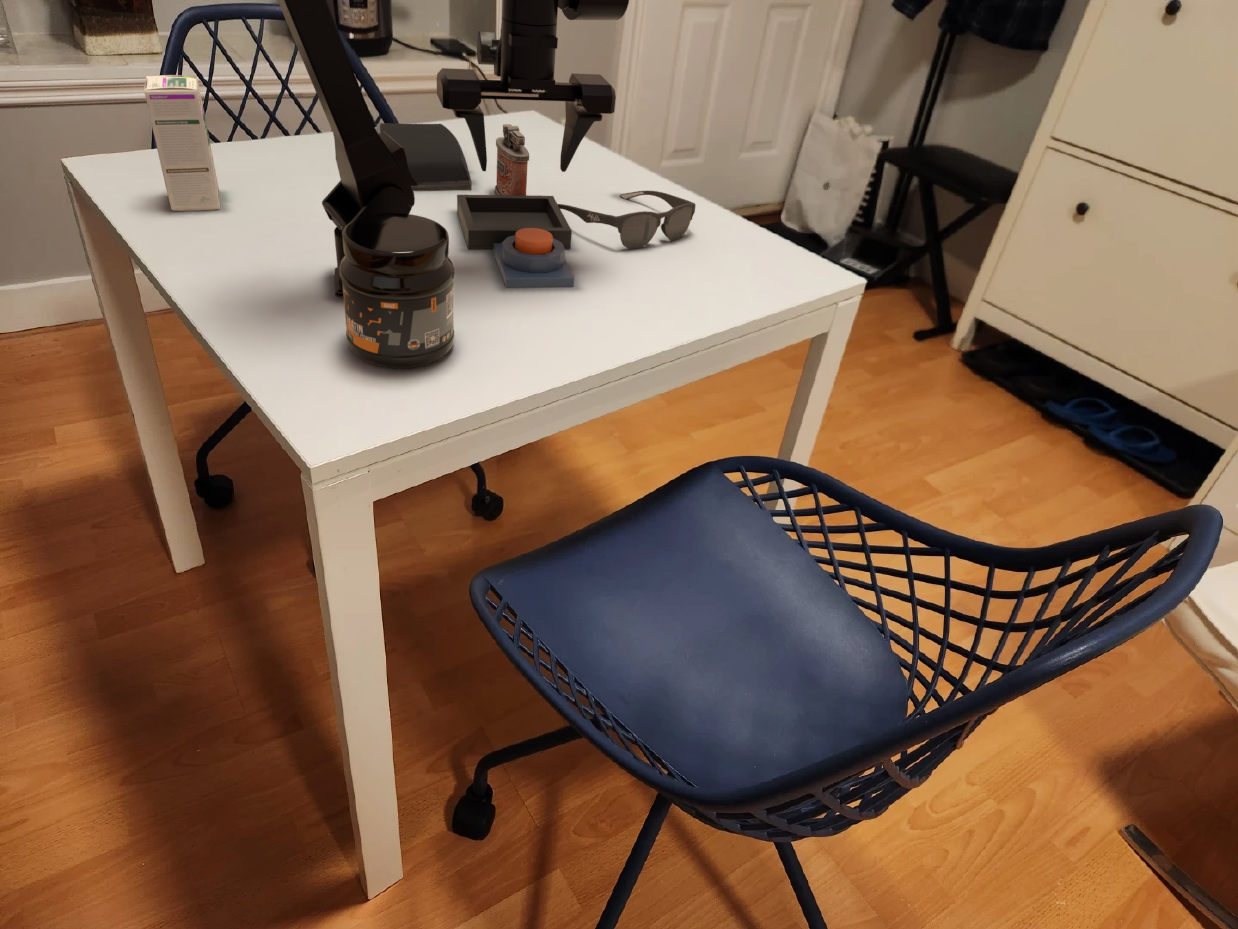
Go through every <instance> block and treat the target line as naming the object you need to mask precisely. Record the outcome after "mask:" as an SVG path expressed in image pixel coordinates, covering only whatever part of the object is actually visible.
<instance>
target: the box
mask: <svg viewBox="0 0 1238 929" xmlns="http://www.w3.org/2000/svg"><path fill="white" fill-rule="evenodd" d="M492 251H493V255H494V257H495V261H496V264H497V267H498V270H499V272H500V275H501V278H502V280H503V283H504V286H505V288H506V289H524V288H527V289H528V288H530V289H531V288H532V289H534V288H574V284H575V277H574V275H573V273H572V271H571V269H570V267H569V265H568V263H567V261H566V258H565V256H566V249H565V248H564V246H563V244H562V242H560V241H558V240H556V239H554V238H553V241H552V252H550V253H547V254H543V255H531V254H526V253H522V252H520V251H518V250H516V249H515V235H514V236H510V237H507V238H506V239H505V240H504V241H503V242H502V243H494V248H493V249H492Z"/></svg>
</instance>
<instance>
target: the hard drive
mask: <svg viewBox="0 0 1238 929" xmlns="http://www.w3.org/2000/svg"><path fill="white" fill-rule="evenodd" d="M375 129H376V131H377V133H378V134H379V133H381V132H383V131H385V132H386V133H387V134H388V135H389V136H390V137H391V138H392V139H394V140H395V141H396V142H397V143H398V144H399V145H400V146H401V147H402V148H403V149H404V151H405V154H406V158H407V164H408V168H409V172H410V174H411V176H412V178H413V179H414V180H415V181H416V182H417V183H418V185H417V186H411V187H412V188H459V187H460V188H461V187H462V188H463V187H464V188H466V187H468V188H469V187H472V186H473V183H472V179H471V178H472V177H471V174H470V171H469V167H468V162H467V160H466V156H465V154H464V151H463V149H462V147H461V144H460V142H459V141H458V139H457V138H456V136H455V135H454V133H453V132H452V131H451V130H450V129H449V128H447V127H446V125H443V123H388V122H387V123H386V122H385V123H384V122H377V124H376V126H375Z"/></svg>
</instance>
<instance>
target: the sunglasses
mask: <svg viewBox="0 0 1238 929" xmlns="http://www.w3.org/2000/svg"><path fill="white" fill-rule="evenodd" d="M641 196H652V197H656V198H660V199H661V200H663V201H664V202H666V203H667V204H668V205H669V206H670V207H671V209H669V210H668V211H664V212H663V211H662V212H654V211H647V210H645V211H644V210H643V211H635V212H629V213H625V214H621V215H613V214H608V213H607V214H606V213H602V212H597V211H593V210H590V209H589V210H588V209H585V208H580V207H577V206H573V205H569V204H562V203H557V204H558V206H559V208H560V210H564V211H567V212H569V213H572V214H574V215H575V216H577V217H578V218H579V219H581V221H583V222H585V223H586V224H602V225H607V226H610V227H613V228H615V229H617V232H618V234H619V238H620V242H621V244H622V245H623V247H624V248H627V249H630V250H633V249H641V248H643V247H644V246H646V245H648V243H649V242H651V240H652V239H653V238H654V236H655V235H656V233H657V230H658V228H659V227H660V230H661V232H662V234H664V236H665V237H666V238H667V239H668V240H669V241H671V242H672V241H676V240H679V239H681V238H682V237H683V236H684V235H685V234H686V232H687V230H688V229H689V227H690V223H691V222H692V221H693V217H694V215H695V213H696V203H695V202H694V201H693V202H692V201H690V200H688V199H685V198H683V197H679V196H676V195H673V194H669V193H666V192H662V191H658V190H637V191H631V192H625V193H621V194H619V198H621V199H623V200H630V199H633V198H637V197H641ZM662 219H663V223H662Z"/></svg>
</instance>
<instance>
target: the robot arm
mask: <svg viewBox="0 0 1238 929" xmlns="http://www.w3.org/2000/svg"><path fill="white" fill-rule="evenodd" d="M277 3H278V5H279V7H280V9H281V12H282V15H283V17H284V19H285V22H286V24H287V26H288V29H289V31H290V33H291V36H292V38H293V41H294V43H295V46H296V48H297V50H298V53H299V55H300V57H301V60H302V62H303V64H304V67H305V69H306V72H307V74H308V76H309V79H310V81H311V84H312V86H313V89H314V91H315V94H316V96H317V98H318V101H319V103H320V105H321V107H322V111H323V112H324V115H325V117H326V120H327V122H328V124H329V127H330V129H331V131H332V134H333V140H334V141H333V142H334V151H335V152H334V153H335V161H336V166H337V169H338V174H339V178H340V180H339V181H338V183H337V184H336V185H335V186H334V187H332V189H331V190H330V192H328V194H327V195H326V196H325V197H324V198H323V199H322V201H321V205H322V207H323V210H324V211H325V214H326V215H327V217H328V219H329V220H330V221H332V223H333V224H334V225H335V228H334V230H333V234H334V235H333V236H334V244H335V245H334V246H335V255H336V257H335V258H336V266H337V267H335V268H334V292H335V293H334V294H335V296H336V297H344V296H343V285H342V279H341V276H340V263H341V261H342V259H343V258H344V256H345V254H344V248H343V237H342V233H343V230H344V228H345V227H346V226H347V225H348V224H349V223H350V222H352V221H354V220H356V219H358V218H361V217H364V216H368V215H374V214H383V213H402V214H411V211H412V209H413V207H414V206H415V204H416V203H415V201H416V196H415V192H414V189H413V187H411V186H417V185H418V183H417V182H416V181H415V180H414V179H413V178H412V176H411V174H410V172H409V168H408V164H407V158H406V154H405V151H404V149H403V148H402V147H401V146H400V145H399V144H398V143H397V142H396V141H395V140H394V139H392V138H391V137H390V136H389V135H388V134H387V133H386V132H385V131H383V132H381V133H379V134H378V133H377V131H376V126H375V124H374V122H373V121H374V120H373V118H372V116H371V114H370V110H369V108H368V105H367V103H366V100H365V98H364V95H363V92H362V89H361V87H360V85H359V82H358V79H357V76H356V73H355V71H354V68H353V66H352V63H351V60H350V58H349V56H348V53H347V50H346V48H345V45H344V43H343V40H342V37H341V35H340V32H339V28H338V27H337V24H336V22H335V19H334V15H333V13H332V11H331V8H330V6H329V3H328V1H327V0H277ZM629 3H630V0H501V24H500V25H501V26H500V27H501V28H500V37H499V39H497V34H496V32H495V31H484V30H483V31H481V30H480V31H479V30H478V32H477V33H476V60H477V64H478V65H487V66H493V75H494V76H496V77H500V79H481V78H479V76H478V75H477V73H476V71H475V70H474V69H472V68H448V67H445V68H444V67H442V68H440V70H439V71H438V72H437V74H436V95H437V97H438V100H439V103H440V105H441V107H442V109H447V110H451V111H452V112H453V115H454V116H455V118H459V119H464V121H465V123H466V125H467V128H468V130H469V132H470V136H471V139H472V142H473V145H474V148H475V153H476V156H477V159H478V162H479V167H480V169H481V171H482V172H487V166H488V165H487V164H488V155H487V141H486V129H485V128H486V126H485V114H484V111H483V110H482V108H481V106H480V105H481V103H482V100H506V101H507V100H509V101H538V102H539V101H541V102H543V101H544V102H565V106H564V107H565V121H564V128H563V129H564V130H563V135H562V142H561V150H560V160H559V161H560V162H559V163H560V166H559V169H560V170H561V172H562V173H566V171H567V170H568V168H569V166H570V164H571V163H572V160H573V158H574V156H575V154H576V152H577V150H578V148H579V146H580V144H581V143H582V141H583V139H584V137H585V136H587V135H586V134H587V133H588V132H589V130H590V128H591V127H592V126H593V125H594V123H595V122H601V121H603V114H607V115H611V114H614V113H615V109H616V101H617V100H616V98H617V96H616V90H615V88H614V87H613V86H612V84H610V82H608V80H606V79H605V78H604V76H603V75H601V74H599V73H598V74H597V73H596V74H595V73H574V72H573V73H572V72H571V74H570V77H569V79H568V82H560V81H559V82H558V81H556V79H555V67H556V50H557V49H558V44H559V43H558V42H559V37H557V33H558V32H557V30H558V11H559V9H560V10H561V12H562V14H563V16H564V17H565V18H566V19H567V20H569V21H619V20H621V19H622V18H623V17H624V16H625V14H626V12H627V10H628V7H629Z"/></svg>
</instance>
